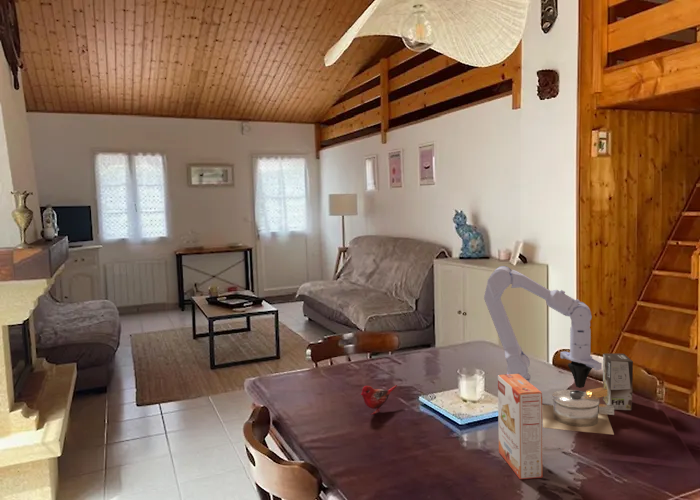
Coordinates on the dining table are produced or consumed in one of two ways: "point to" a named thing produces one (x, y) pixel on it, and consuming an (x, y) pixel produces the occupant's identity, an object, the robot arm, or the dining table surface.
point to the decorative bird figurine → (375, 397)
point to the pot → (580, 414)
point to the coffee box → (618, 380)
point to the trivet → (600, 427)
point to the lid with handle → (579, 398)
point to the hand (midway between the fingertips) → (580, 386)
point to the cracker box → (520, 425)
